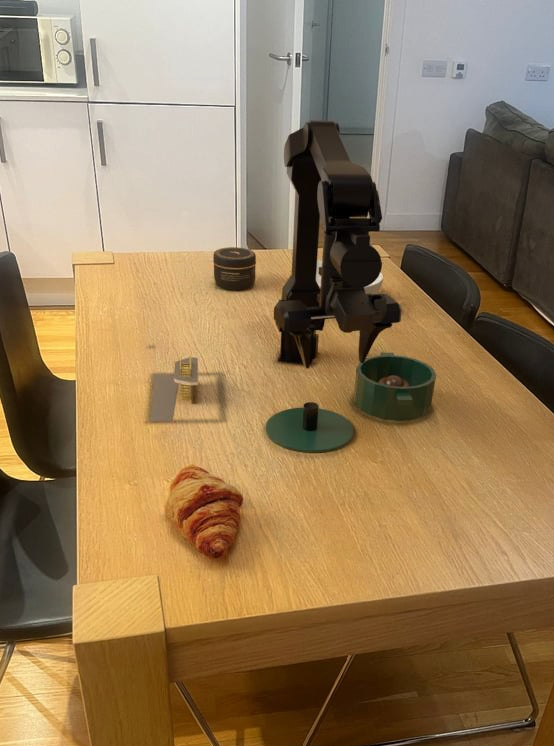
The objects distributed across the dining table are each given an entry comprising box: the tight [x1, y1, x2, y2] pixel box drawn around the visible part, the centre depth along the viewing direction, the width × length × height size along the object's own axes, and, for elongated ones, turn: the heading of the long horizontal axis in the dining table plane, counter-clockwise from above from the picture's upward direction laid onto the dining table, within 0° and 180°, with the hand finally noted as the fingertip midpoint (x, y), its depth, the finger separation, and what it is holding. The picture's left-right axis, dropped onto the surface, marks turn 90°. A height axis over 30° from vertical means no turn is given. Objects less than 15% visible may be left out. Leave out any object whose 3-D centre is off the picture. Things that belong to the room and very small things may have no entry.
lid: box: [265, 401, 355, 454], centre depth 121 cm, size 14×14×5 cm
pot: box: [353, 352, 437, 422], centre depth 131 cm, size 13×19×6 cm
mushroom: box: [379, 375, 409, 387], centre depth 131 cm, size 5×5×5 cm
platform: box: [149, 354, 199, 423], centre depth 130 cm, size 12×18×7 cm, turn 7°
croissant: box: [164, 463, 244, 559], centre depth 100 cm, size 21×10×8 cm, turn 18°
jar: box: [212, 246, 257, 292], centre depth 179 cm, size 10×10×8 cm
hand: (334, 364), depth 118 cm, fingers open, 9 cm apart
